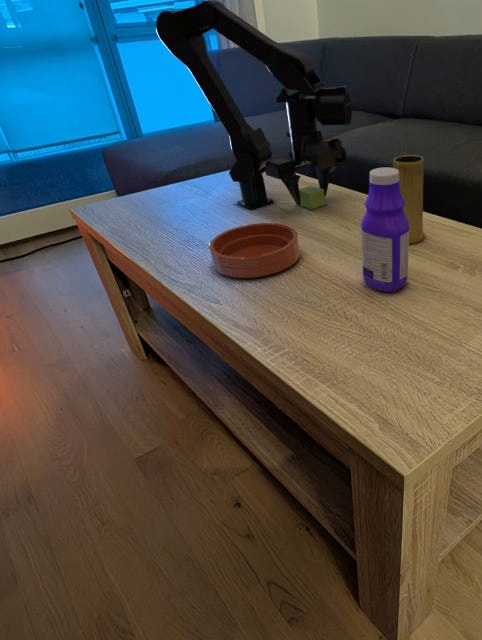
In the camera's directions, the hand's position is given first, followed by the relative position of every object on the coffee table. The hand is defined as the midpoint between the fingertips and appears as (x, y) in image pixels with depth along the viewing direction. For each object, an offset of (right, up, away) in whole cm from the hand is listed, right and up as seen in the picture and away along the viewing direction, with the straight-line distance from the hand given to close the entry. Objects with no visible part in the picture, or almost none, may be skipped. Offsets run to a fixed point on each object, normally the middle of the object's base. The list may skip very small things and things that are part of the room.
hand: (311, 200), depth 103 cm
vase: (+20, -14, -18) cm, 30 cm away
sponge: (0, -1, +1) cm, 1 cm away
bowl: (-8, -19, -22) cm, 30 cm away
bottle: (+15, -25, -32) cm, 43 cm away
